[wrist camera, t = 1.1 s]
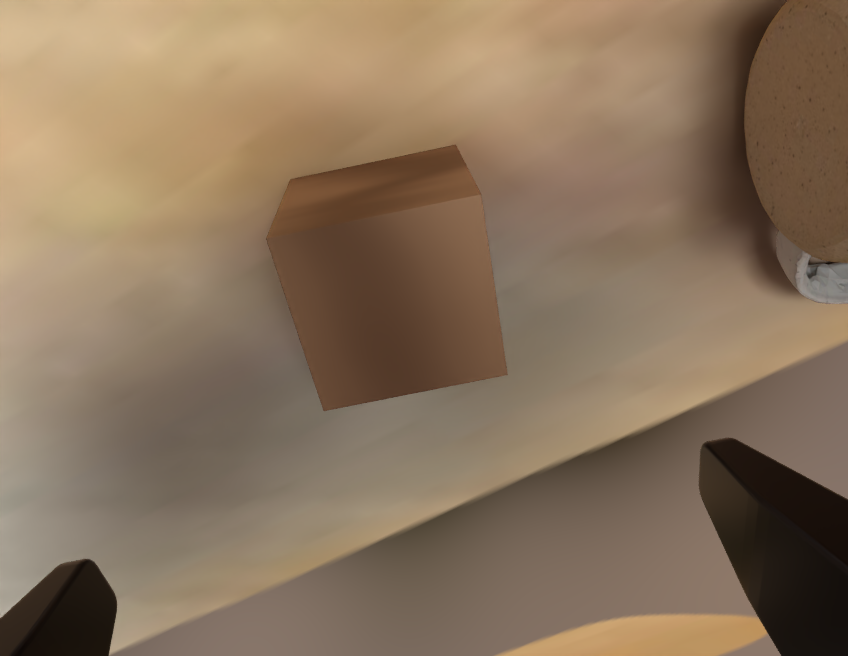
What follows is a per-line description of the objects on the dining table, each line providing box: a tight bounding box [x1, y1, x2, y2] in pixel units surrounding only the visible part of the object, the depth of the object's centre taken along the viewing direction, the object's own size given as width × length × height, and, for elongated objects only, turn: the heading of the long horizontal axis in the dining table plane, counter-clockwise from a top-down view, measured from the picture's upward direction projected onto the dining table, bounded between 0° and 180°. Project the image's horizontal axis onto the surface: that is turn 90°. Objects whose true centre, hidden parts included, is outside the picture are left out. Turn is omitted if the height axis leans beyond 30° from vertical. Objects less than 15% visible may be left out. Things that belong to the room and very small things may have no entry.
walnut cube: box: [266, 145, 508, 411], centre depth 18 cm, size 5×5×5 cm
